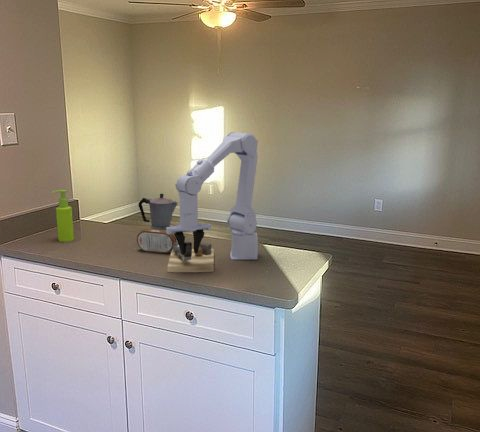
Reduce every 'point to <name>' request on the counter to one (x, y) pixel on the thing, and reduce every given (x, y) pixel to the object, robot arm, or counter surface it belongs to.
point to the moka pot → (159, 211)
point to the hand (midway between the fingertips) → (189, 253)
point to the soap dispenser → (64, 219)
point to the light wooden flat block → (193, 260)
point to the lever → (187, 250)
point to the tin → (155, 241)
